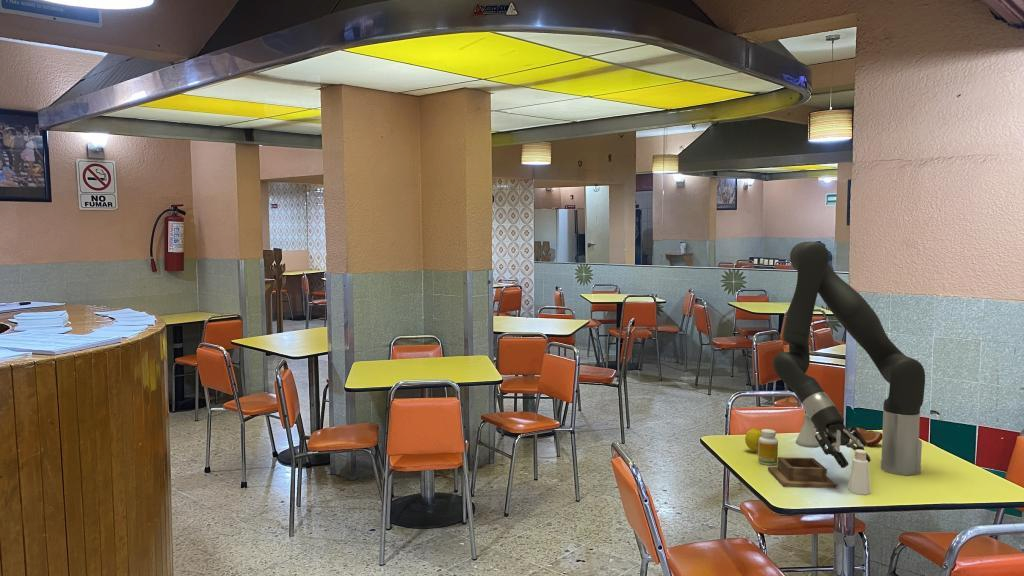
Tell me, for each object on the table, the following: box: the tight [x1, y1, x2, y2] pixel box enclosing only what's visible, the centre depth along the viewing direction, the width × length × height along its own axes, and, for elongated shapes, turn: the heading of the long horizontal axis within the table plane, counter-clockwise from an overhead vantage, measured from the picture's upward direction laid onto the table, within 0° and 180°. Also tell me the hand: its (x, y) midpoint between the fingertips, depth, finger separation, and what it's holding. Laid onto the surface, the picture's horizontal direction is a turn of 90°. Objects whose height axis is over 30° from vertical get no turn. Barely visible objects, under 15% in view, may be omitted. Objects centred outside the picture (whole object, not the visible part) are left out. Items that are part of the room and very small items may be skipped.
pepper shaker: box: [847, 449, 872, 496], centre depth 186 cm, size 5×5×11 cm
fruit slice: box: [856, 427, 882, 446], centre depth 231 cm, size 8×7×5 cm
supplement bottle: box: [757, 428, 779, 466], centre depth 210 cm, size 5×5×10 cm
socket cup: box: [767, 456, 838, 489], centre depth 196 cm, size 14×14×4 cm
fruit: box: [744, 426, 762, 453], centre depth 221 cm, size 6×6×8 cm
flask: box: [795, 412, 821, 448], centre depth 230 cm, size 7×7×10 cm
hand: (856, 464), depth 187 cm, fingers open, 8 cm apart
